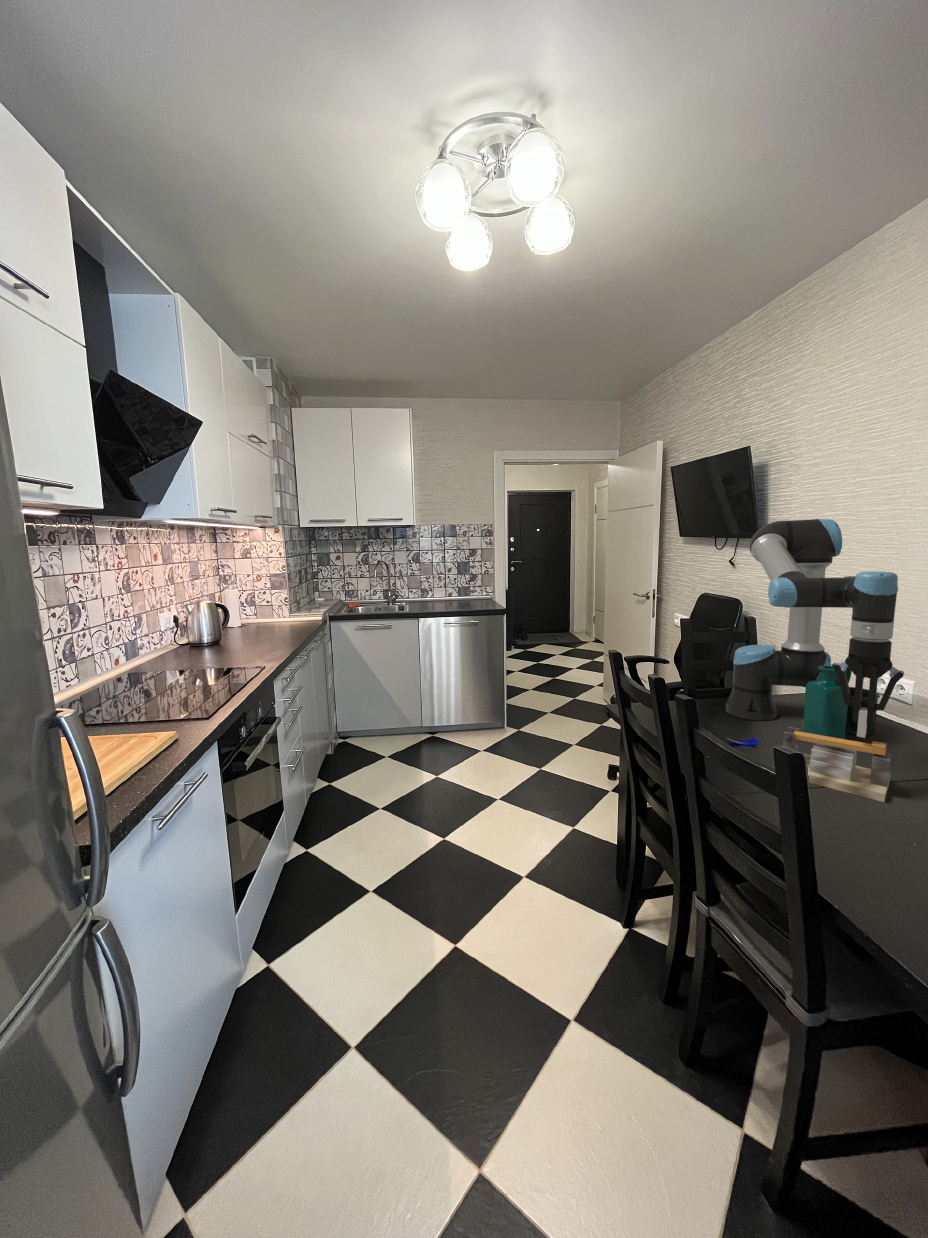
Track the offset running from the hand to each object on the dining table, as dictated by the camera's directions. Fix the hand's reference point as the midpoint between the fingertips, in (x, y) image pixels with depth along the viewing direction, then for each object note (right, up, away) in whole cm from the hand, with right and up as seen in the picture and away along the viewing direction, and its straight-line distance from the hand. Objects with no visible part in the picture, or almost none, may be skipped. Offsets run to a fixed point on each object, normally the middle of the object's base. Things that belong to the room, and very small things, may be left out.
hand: (861, 735), depth 116 cm
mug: (+26, -6, +36) cm, 45 cm away
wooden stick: (-3, -3, +4) cm, 6 cm away
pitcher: (+13, -8, +29) cm, 32 cm away
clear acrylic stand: (-3, -12, +5) cm, 13 cm away
